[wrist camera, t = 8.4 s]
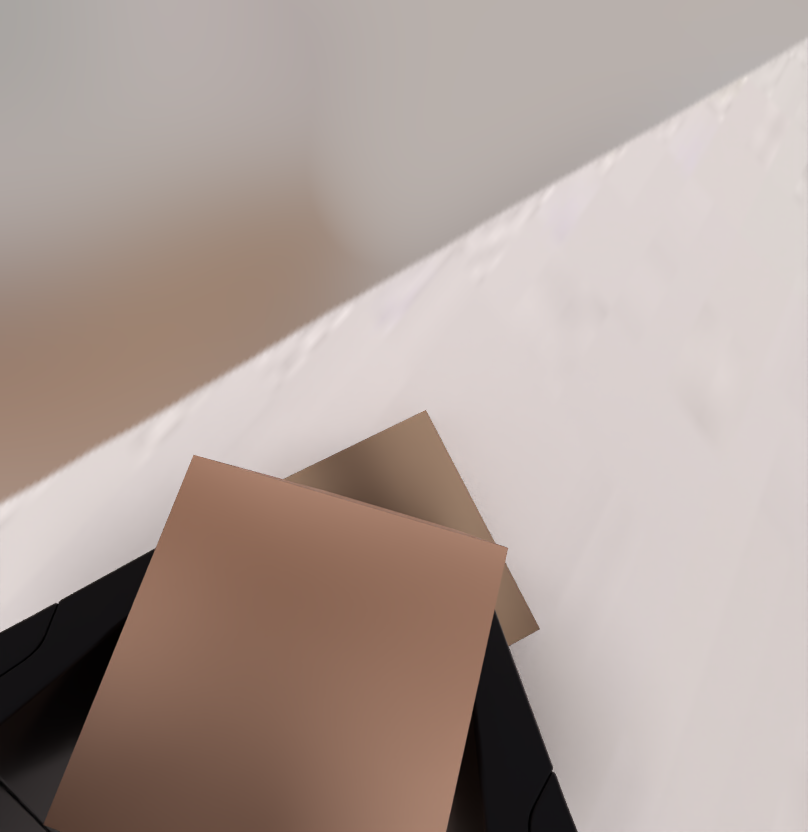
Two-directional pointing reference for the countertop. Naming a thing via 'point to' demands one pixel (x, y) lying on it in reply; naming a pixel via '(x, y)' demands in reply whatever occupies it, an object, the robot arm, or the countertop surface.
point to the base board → (416, 495)
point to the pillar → (286, 669)
